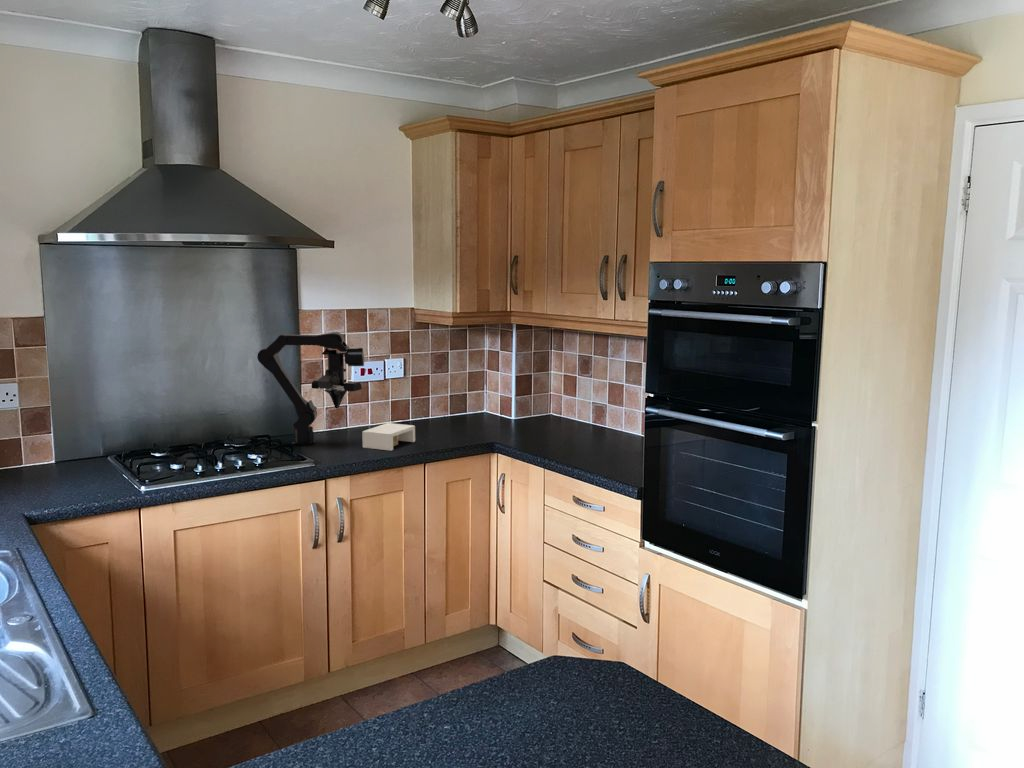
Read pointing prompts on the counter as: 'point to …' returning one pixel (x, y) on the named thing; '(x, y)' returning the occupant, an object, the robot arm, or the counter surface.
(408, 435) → the shelf
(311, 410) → the robot arm
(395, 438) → the brown wooden box
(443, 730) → the counter surface
